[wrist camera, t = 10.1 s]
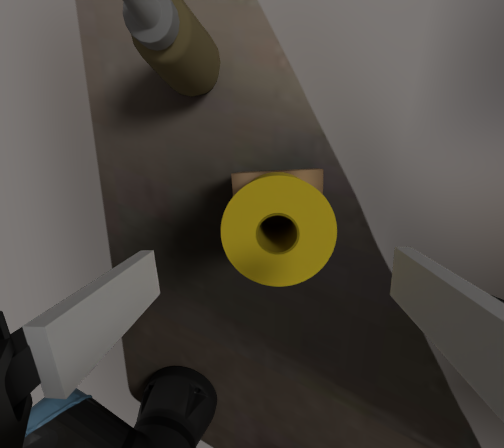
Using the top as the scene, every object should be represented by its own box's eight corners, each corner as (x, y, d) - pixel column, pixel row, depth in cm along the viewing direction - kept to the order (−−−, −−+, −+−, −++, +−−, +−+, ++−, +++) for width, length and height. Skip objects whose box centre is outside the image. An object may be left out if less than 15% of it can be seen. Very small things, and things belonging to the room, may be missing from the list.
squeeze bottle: (200, 115, 36) (129, 70, 19) (161, 73, 35) (48, -15, 18) (237, 72, 34) (197, -23, 17) (197, 27, 33) (110, -124, 16)
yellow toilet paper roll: (299, 158, 28) (311, 154, 19) (328, 233, 30) (352, 264, 21) (223, 191, 30) (201, 204, 20) (256, 261, 31) (248, 300, 22)
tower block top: (241, 246, 36) (237, 257, 32) (237, 172, 33) (231, 173, 29) (315, 244, 35) (321, 256, 30) (316, 168, 32) (323, 169, 28)
